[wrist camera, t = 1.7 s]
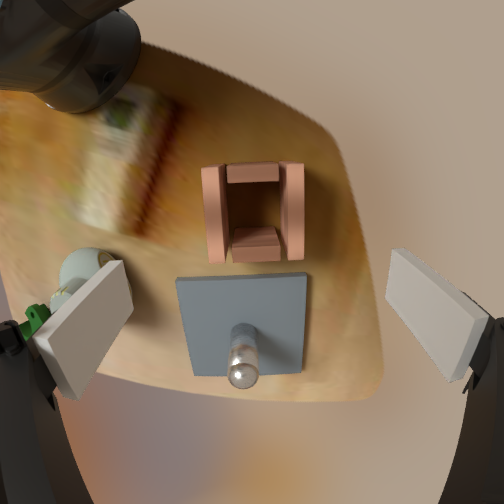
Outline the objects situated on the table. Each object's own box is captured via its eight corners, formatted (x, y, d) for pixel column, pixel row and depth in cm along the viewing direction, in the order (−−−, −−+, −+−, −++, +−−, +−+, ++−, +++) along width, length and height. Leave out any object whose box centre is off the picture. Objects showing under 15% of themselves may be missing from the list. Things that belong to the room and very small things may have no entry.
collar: (211, 164, 31) (201, 168, 24) (292, 161, 31) (303, 163, 24) (217, 241, 34) (209, 263, 27) (293, 237, 34) (303, 259, 27)
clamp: (62, 294, 41) (37, 296, 33) (81, 322, 42) (58, 330, 33) (26, 329, 39) (-1, 337, 30) (43, 356, 39) (18, 368, 30)
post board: (177, 277, 35) (175, 281, 34) (305, 272, 35) (306, 276, 34) (195, 370, 41) (194, 375, 40) (299, 367, 41) (301, 372, 40)
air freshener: (146, 299, 37) (120, 343, 27) (107, 319, 38) (78, 361, 28) (102, 231, 33) (60, 259, 24) (65, 258, 34) (24, 289, 25)
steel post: (229, 323, 36) (224, 374, 27) (256, 322, 36) (258, 373, 27) (231, 344, 38) (227, 395, 29) (257, 343, 38) (259, 394, 29)
